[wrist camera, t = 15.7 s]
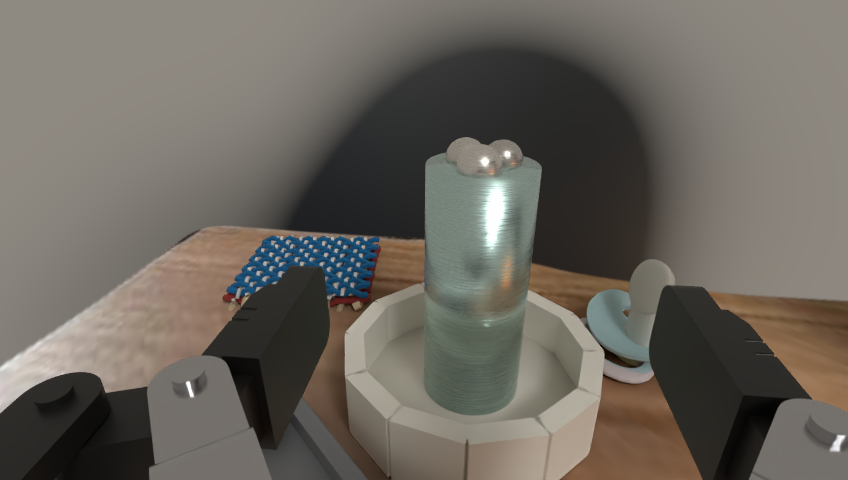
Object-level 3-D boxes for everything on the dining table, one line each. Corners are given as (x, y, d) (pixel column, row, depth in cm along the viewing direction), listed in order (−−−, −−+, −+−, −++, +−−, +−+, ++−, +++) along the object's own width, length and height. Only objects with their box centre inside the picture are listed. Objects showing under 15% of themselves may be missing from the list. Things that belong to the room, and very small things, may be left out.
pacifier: (609, 402, 27) (704, 384, 28) (625, 305, 24) (730, 289, 25) (550, 326, 33) (629, 314, 34) (558, 243, 31) (644, 233, 32)
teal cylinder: (471, 341, 29) (484, 123, 24) (536, 386, 26) (569, 142, 20) (405, 375, 27) (402, 136, 21) (467, 431, 23) (484, 162, 18)
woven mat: (264, 252, 44) (261, 231, 43) (382, 253, 44) (381, 233, 43) (219, 317, 34) (214, 292, 34) (369, 319, 34) (367, 294, 34)
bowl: (472, 305, 35) (474, 261, 34) (642, 408, 26) (655, 355, 24) (306, 380, 28) (300, 329, 26) (461, 564, 18) (464, 500, 17)
